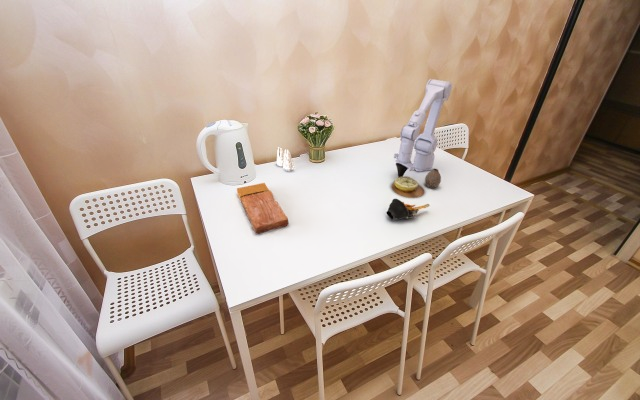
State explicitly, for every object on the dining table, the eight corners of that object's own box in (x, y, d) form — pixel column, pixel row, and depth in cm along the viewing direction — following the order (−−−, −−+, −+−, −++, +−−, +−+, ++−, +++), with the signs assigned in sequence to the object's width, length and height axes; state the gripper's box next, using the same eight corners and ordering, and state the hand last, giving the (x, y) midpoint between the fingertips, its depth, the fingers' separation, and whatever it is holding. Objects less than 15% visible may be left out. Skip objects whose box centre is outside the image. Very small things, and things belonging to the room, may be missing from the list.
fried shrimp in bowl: (378, 204, 116) (411, 181, 120) (388, 226, 120) (420, 203, 124) (393, 208, 107) (427, 184, 112) (403, 232, 111) (436, 207, 116)
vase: (436, 191, 134) (441, 174, 129) (421, 186, 137) (426, 170, 132) (440, 185, 139) (445, 168, 134) (425, 180, 142) (430, 164, 137)
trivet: (412, 179, 143) (412, 179, 143) (430, 195, 131) (431, 195, 131) (385, 183, 139) (385, 183, 139) (402, 200, 127) (402, 199, 127)
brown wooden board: (265, 188, 132) (265, 181, 130) (289, 226, 110) (289, 219, 108) (237, 194, 127) (236, 187, 125) (255, 235, 105) (254, 228, 103)
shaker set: (295, 171, 146) (294, 151, 140) (288, 173, 144) (287, 153, 138) (282, 162, 154) (281, 143, 148) (275, 164, 152) (274, 144, 145)
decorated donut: (421, 187, 136) (422, 180, 134) (408, 195, 130) (410, 188, 128) (402, 179, 143) (403, 172, 141) (389, 186, 136) (390, 179, 134)
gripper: (390, 146, 137) (385, 171, 145) (406, 159, 126) (400, 185, 133) (403, 144, 139) (398, 169, 147) (420, 157, 128) (413, 183, 135)
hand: (400, 177), depth 140 cm, fingers closed
